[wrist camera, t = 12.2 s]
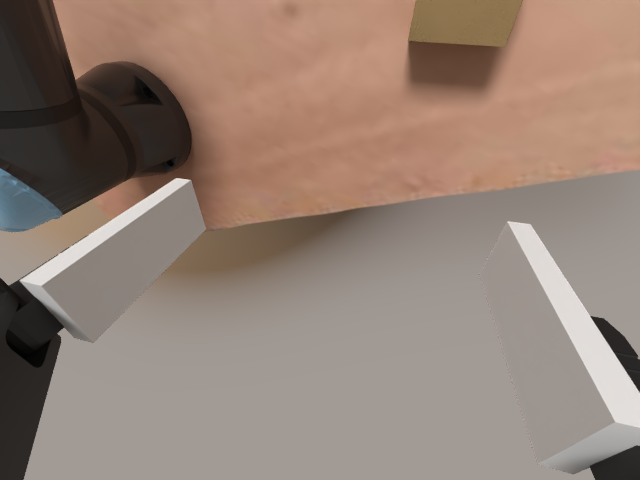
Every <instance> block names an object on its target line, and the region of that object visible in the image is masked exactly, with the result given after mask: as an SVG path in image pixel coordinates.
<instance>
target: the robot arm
mask: <svg viewBox="0 0 640 480" xmlns="http://www.w3.org/2000/svg"><path fill="white" fill-rule="evenodd" d="M190 147H191V136H190V130H189V126H188V122H187V119H186V117H185V114H184V112H183V110H182V108H181V106H180V105H179V103H178V101H177V100H176V98H175V97H174V95H173V94H172V93H171V91H170V90H169V89H168V88H167V87H166V85H165V84H164V83H163V82H162V81H161V80H159V79H158V78H157V77H156V76H155V75H153V74H152V73H151V72H149V71H148V70H146V69H144V68H143V67H141V66H139V65H136V64H133V63H130V62H111V63H104V64H100V65H98V66H96V67H94V68H92V69H91V70H90V71H88V72H87V73H85V74H84V75H82V76H81V77H79V78H78V79H77V80H75V77H74V74H73V70H72V67H71V63H70V60H69V56H68V53H67V49H66V46H65V42H64V39H63V35H62V32H61V28H60V25H59V21H58V18H57V14H56V11H55V7H54V4H53V0H0V230H2V231H8V232H20V231H26V230H29V229H32V228H34V227H36V226H38V225H40V224H43V223H45V222H47V221H50V220H52V219H57V218H60V217H61V216H62V215H64V214H66V213H68V212H69V211H71V210H73V209H75V208H77V207H79V206H80V205H82V204H84V203H86V202H88V201H89V200H91V199H93V198H95V197H97V196H99V195H101V194H102V193H104V192H106V191H108V190H110V189H112V188H113V187H115V186H117V185H119V184H121V183H122V182H124V181H126V180H128V179H130V178H136V177H145V176H153V175H161V174H166V173H168V172H171V171H173V170H174V169H176V168H178V167H179V166H181V165H182V164H183V163H184V162H185V161H186V159H187V158H188V155H189V152H190ZM205 230H206V227H205V224H204V221H203V217H202V214H201V211H200V208H199V204H198V201H197V198H196V194H195V191H194V188H193V185H192V181H191V180H188V179H180V178H176V179H174V180H173V181H171V182H170V183H168V184H166V185H165V186H163V187H162V188H160V189H159V190H157V191H156V192H154V193H153V194H151V195H150V196H148V197H147V198H145V199H143V200H142V201H140V202H139V203H137V204H136V205H134V206H133V207H131V208H130V209H128V210H127V211H125V212H124V213H122V214H120V215H119V216H117V217H116V218H114V219H113V220H111V221H110V222H108V223H107V224H105V225H104V226H102V227H101V228H99V229H98V230H96V231H95V232H93V233H92V234H90V235H87V236H85V237H84V238H82V239H81V240H79V241H78V242H76V243H75V244H73V245H72V246H71V247H68V248H67V249H65V250H64V251H62V252H61V254H59V255H56V256H54V257H53V258H51V259H50V260H48V261H47V262H45V263H44V264H42V265H41V266H39V267H38V268H36V269H35V270H33V271H31V272H30V273H28V274H27V275H25V276H24V277H22V278H21V279H19V280H18V281H16V282H14V283H13V284H11V285H9V286H8V285H7V284H6V283H5V282H4V281H3V280H2V279H1V278H0V480H23V479H24V476H25V472H26V468H27V465H28V461H29V457H30V454H31V450H32V447H33V443H34V439H35V436H36V432H37V428H38V425H39V421H40V417H41V414H42V410H43V406H44V402H45V399H46V395H47V392H48V388H49V384H50V381H51V377H52V374H53V369H54V366H55V363H56V359H57V355H58V352H59V348H60V344H61V337H60V336H59V335H58V334H57V333H58V332H59V331H60V330H61V329H63V328H65V329H66V330H67V331H68V332H69V333H70V334H71V335H72V336H73V337H74V338H77V339H80V340H84V341H88V342H92V343H94V342H95V341H96V340H97V339H98V338H99V337H100V336H101V335H102V334H103V333H104V332H105V331H106V330H107V329H108V328H109V327H110V326H111V325H112V323H114V322H115V321H116V320H117V319H118V317H119V316H120V315H121V314H122V313H123V312H124V311H125V310H126V309H127V308H128V307H129V306H130V305H131V304H132V303H133V302H134V301H135V300H136V299H137V298H138V297H139V296H140V295H141V294H142V293H143V292H144V291H145V290H146V289H147V288H148V287H149V286H150V285H151V284H152V283H153V282H154V281H155V280H156V279H157V278H158V277H159V276H160V275H161V274H162V273H163V272H164V271H165V270H166V269H167V268H168V267H169V266H170V265H171V264H172V263H173V262H174V261H175V260H176V259H177V258H178V257H179V256H180V255H181V254H182V253H183V252H184V251H185V250H186V249H187V248H188V247H189V246H190V245H191V244H192V243H193V242H194V241H195V240H196V239H197V238H198V237H199V236H200V235H201V234H202V233H203V232H204V231H205ZM479 275H480V279H481V282H482V286H483V289H484V292H485V295H486V299H487V302H488V305H489V308H490V312H491V315H492V318H493V321H494V324H495V328H496V331H497V334H498V338H499V341H500V344H501V347H502V351H503V354H504V357H505V360H506V364H507V367H508V370H509V373H510V377H511V380H512V383H513V386H514V390H515V393H516V396H517V399H518V402H519V406H520V409H521V412H522V416H523V419H524V422H525V425H526V429H527V432H528V435H529V439H530V442H531V445H532V448H533V452H534V454H535V458H536V461H537V464H538V465H541V466H545V467H549V468H552V469H556V470H560V471H563V472H567V473H571V474H575V473H578V472H580V471H582V470H585V469H587V468H589V467H590V468H591V471H592V473H593V475H594V478H595V480H640V360H639V359H638V355H637V354H636V352H635V351H634V349H633V348H632V347H631V345H630V344H629V343H628V341H627V340H626V338H625V337H624V336H623V335H622V334H621V333H620V332H619V331H617V330H616V329H615V328H614V327H613V326H612V325H610V324H609V323H608V322H607V321H606V320H605V319H603V318H598V317H592V316H590V315H589V314H588V312H587V311H586V309H585V308H584V306H583V305H582V303H581V302H580V300H579V299H578V297H577V295H576V294H575V292H574V291H573V289H572V288H571V286H570V285H569V283H568V282H567V280H566V279H565V277H564V276H563V274H562V273H561V271H560V269H559V268H558V266H557V265H556V263H555V262H554V260H553V259H552V257H551V255H550V254H549V252H548V251H547V249H546V248H545V246H544V245H543V243H542V242H541V240H540V239H539V237H538V235H537V234H536V232H535V231H534V229H533V228H532V226H531V225H530V224H524V223H516V222H509V221H507V223H506V224H505V227H504V228H503V230H502V232H501V234H500V236H499V238H498V240H497V241H496V244H495V245H494V247H493V249H492V251H491V253H490V255H489V257H488V259H487V260H486V262H485V264H484V266H483V268H482V270H481V272H480V274H479Z"/></svg>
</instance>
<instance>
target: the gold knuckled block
mask: <svg viewBox="0 0 640 480" xmlns="http://www.w3.org/2000/svg"><path fill="white" fill-rule="evenodd" d="M522 1H523V0H416V3H415V8H414V13H413V18H412V23H411V28H410V33H409V38H408V41H417V42H433V43H449V44H465V45H481V46H498V47H505V45H506V43H507V40H508V38H509V35H510V32H511V30H512V27H513V24H514V22H515V19H516V17H517V14H518V11H519V9H520V6H521V4H522Z"/></svg>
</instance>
